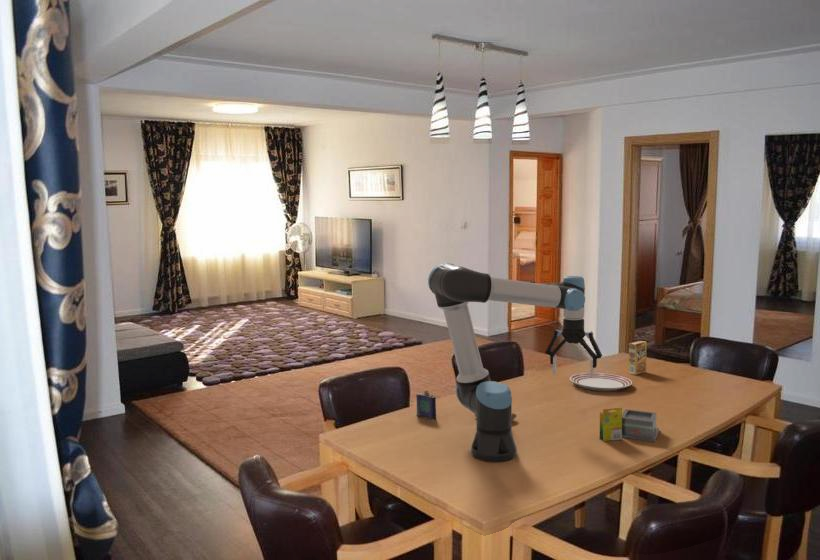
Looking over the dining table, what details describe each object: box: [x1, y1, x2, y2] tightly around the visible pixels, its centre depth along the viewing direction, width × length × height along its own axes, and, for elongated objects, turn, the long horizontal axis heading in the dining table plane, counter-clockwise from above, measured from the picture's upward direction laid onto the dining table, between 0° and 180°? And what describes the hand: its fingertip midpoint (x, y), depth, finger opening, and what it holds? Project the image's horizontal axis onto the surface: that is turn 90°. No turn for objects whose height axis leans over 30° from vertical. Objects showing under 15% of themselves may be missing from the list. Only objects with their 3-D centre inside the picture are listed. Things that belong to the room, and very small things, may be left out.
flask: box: [415, 390, 437, 420], centre depth 256 cm, size 9×3×11 cm, turn 50°
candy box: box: [628, 340, 648, 375], centre depth 316 cm, size 9×4×15 cm, turn 126°
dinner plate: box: [569, 372, 633, 392], centre depth 296 cm, size 28×27×3 cm
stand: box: [622, 408, 660, 443], centre depth 234 cm, size 13×13×7 cm
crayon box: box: [599, 407, 623, 442], centre depth 228 cm, size 7×3×12 cm, turn 100°
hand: (573, 374), depth 239 cm, fingers open, 13 cm apart
